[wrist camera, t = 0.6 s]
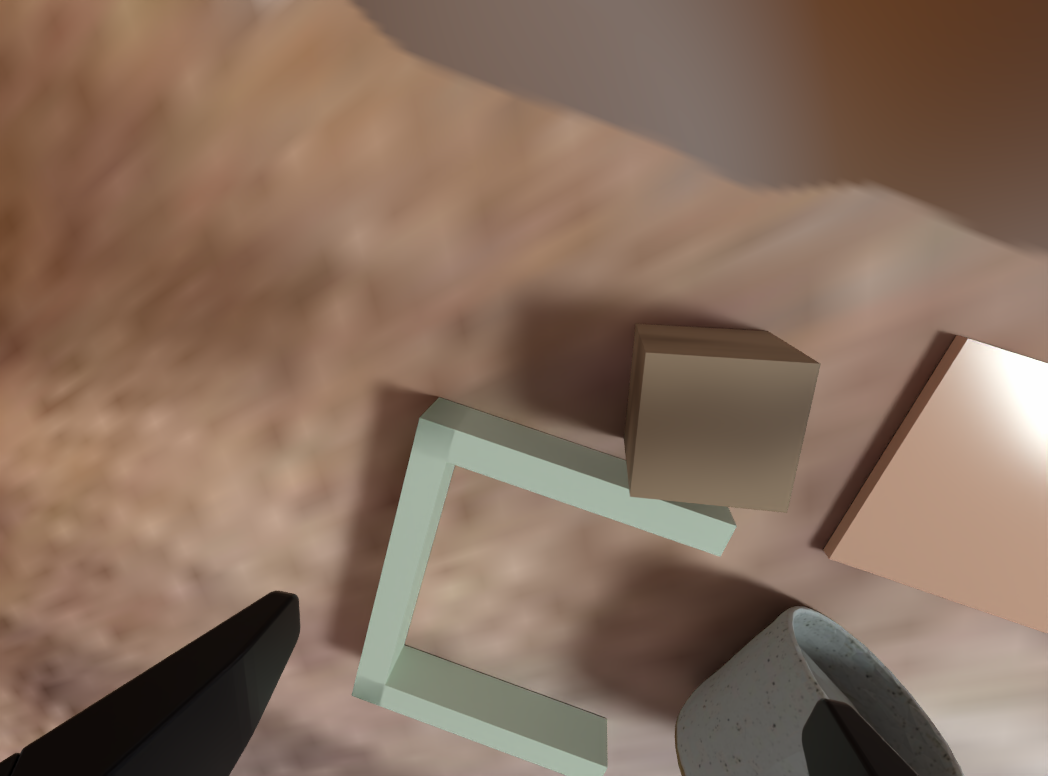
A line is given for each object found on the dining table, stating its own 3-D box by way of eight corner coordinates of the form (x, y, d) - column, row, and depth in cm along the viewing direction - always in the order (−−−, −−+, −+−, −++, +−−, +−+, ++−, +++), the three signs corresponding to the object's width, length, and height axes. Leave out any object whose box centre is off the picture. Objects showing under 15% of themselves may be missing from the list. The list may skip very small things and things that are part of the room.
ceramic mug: (652, 680, 25) (676, 866, 18) (763, 573, 22) (845, 742, 15) (821, 781, 26) (911, 1000, 18) (949, 690, 23) (1113, 905, 16)
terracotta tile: (1052, 628, 21) (1064, 639, 20) (823, 550, 21) (829, 558, 21) (1232, 422, 18) (1253, 429, 17) (957, 335, 18) (968, 338, 18)
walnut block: (745, 448, 21) (786, 512, 16) (623, 437, 21) (629, 496, 17) (766, 330, 19) (820, 363, 14) (635, 323, 20) (645, 352, 15)
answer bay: (597, 737, 27) (597, 786, 24) (373, 655, 27) (351, 695, 25) (721, 493, 21) (736, 526, 19) (439, 397, 22) (419, 417, 20)
